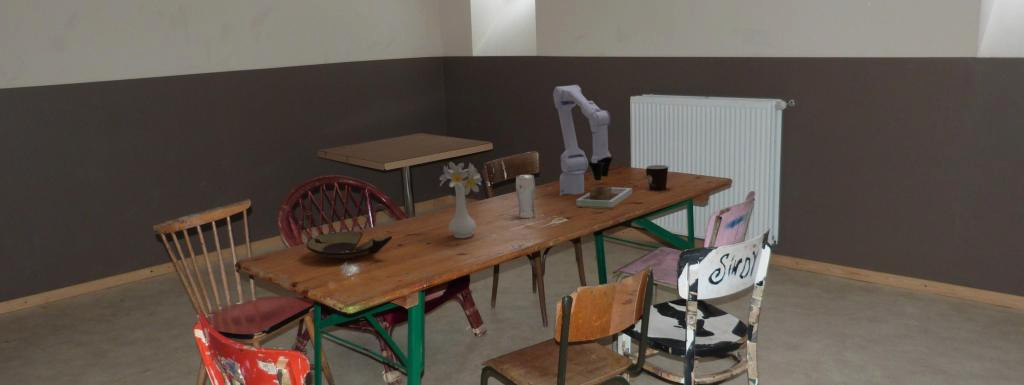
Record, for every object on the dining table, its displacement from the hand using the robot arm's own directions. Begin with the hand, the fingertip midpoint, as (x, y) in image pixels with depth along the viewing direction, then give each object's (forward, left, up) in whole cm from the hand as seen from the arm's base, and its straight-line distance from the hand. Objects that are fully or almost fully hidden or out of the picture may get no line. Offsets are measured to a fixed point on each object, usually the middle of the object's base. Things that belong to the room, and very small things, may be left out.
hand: (601, 178), depth 324 cm
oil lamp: (-54, -89, -10) cm, 105 cm away
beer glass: (-20, -26, -10) cm, 35 cm away
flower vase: (-29, -57, -10) cm, 65 cm away
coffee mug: (+14, +27, -10) cm, 32 cm away
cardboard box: (0, -2, -9) cm, 9 cm away
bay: (0, +3, -10) cm, 10 cm away
